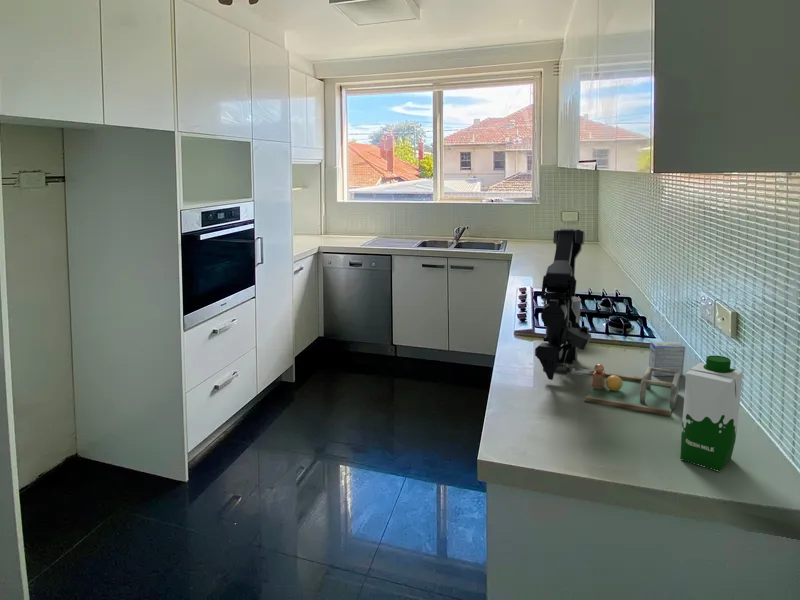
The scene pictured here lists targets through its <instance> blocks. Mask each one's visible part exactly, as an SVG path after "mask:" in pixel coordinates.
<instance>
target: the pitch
mask: <svg viewBox="0 0 800 600" xmlns="http://www.w3.org/2000/svg"><path fill="white" fill-rule="evenodd" d="M652 371H659V372H666V373H673V374H675V376H673V380H672V381H664V380H659V379H658V380H657V379H652V377H653V375H652ZM611 375H616V376H618V377H620V378H621V380H622V387H621V389H619V390H617V391H612V390H610V389H608V388H607V386H606V380H607V378H608V377H609V376H611ZM680 378H681V376H680V372H678V371H675V370H668V369H660V368H653V367H649V366H647V368H646V370H645V372H644V374H643V377H638V376H637V377H636V376H629V375H623V374H617V373H610V372H605V385H604V387H603V389H602V390H599V389H593V388H591V390H590V392H589V393H588V395H585V396H584V402H585V403H590V404H595V405H601V406H607V407H613V408H618V409H624V410H630V411H636V412H642V413H647V414H651V415H652V414H653V415H658V416H664V417H671V413H672V410H674V409H675V407H676V404H677V400H678V396H679V391H680V380H681V379H680Z"/></svg>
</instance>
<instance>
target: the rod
mask: <svg viewBox="0 0 800 600" xmlns="http://www.w3.org/2000/svg"><path fill="white" fill-rule="evenodd" d="M542 371H543V372H544V373H545V370H544V368H543V367H542ZM605 373H606V370H605V367H604V365H603V364H602V363H601V364H600V363H597V364H595V365H594V369H593V370H592V369H584V368H578V367H572V366H571V367H570V366H569V363H564V364H563V363H556V367H555V372H554V375H555V374H556V375H562V376H567V375H568V374H573V375H578V376H579V375H580V376H585V377H586V376H587V377H592V381H591V382H592V383H591V389H599V390H602V389H603V387H604V385H605Z"/></svg>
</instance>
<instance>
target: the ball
mask: <svg viewBox="0 0 800 600" xmlns="http://www.w3.org/2000/svg"><path fill="white" fill-rule="evenodd" d="M606 386H607V388H608V389H610V390H612V391H617V390H619V389H621V387H622V380H621V378H620V377H618V376H616V375H611V376H609V377H608V378H607V380H606Z"/></svg>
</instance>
